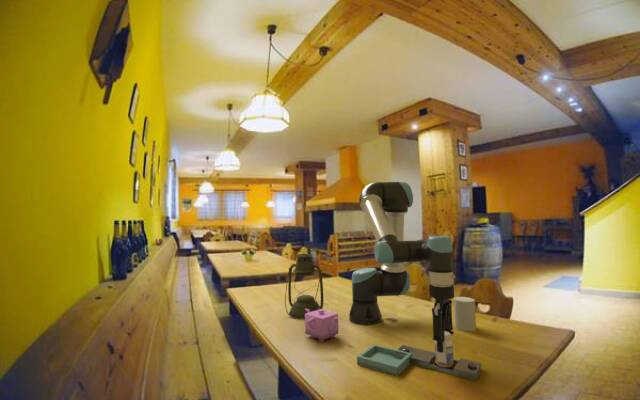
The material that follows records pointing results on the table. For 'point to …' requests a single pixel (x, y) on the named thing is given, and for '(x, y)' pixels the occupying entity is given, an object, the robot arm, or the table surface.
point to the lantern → (303, 302)
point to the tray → (383, 359)
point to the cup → (464, 313)
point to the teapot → (321, 324)
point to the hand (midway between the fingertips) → (444, 358)
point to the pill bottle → (448, 351)
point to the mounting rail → (428, 358)
